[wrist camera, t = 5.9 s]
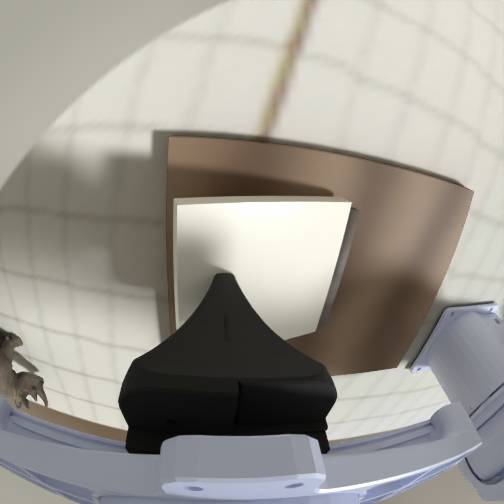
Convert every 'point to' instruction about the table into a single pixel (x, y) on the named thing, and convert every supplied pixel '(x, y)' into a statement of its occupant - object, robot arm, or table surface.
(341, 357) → the board
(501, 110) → the table surface
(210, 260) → the tile
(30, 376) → the rhino figurine
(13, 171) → the table surface
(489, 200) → the table surface
